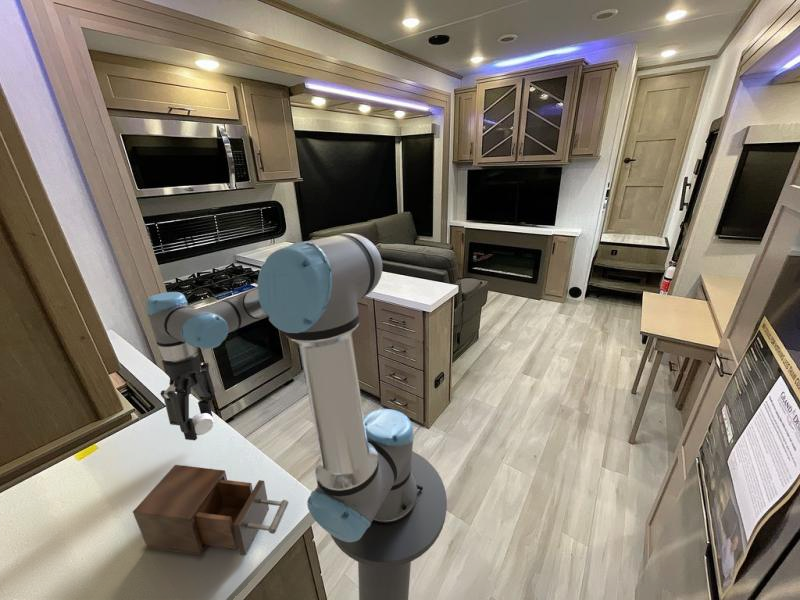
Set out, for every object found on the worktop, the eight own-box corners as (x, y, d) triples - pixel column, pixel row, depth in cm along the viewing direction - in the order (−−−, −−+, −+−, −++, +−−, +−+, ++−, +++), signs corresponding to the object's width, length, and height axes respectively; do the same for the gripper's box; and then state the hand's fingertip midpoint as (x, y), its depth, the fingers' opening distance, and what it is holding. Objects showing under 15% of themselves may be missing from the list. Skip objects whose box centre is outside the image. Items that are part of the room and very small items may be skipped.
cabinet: (233, 504, 72) (225, 470, 68) (201, 555, 62) (190, 519, 59) (185, 498, 73) (175, 464, 69) (147, 547, 63) (132, 511, 60)
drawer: (294, 512, 70) (290, 483, 67) (274, 559, 61) (268, 529, 58) (224, 503, 72) (217, 475, 68) (195, 548, 63) (186, 518, 60)
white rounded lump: (207, 418, 90) (203, 402, 88) (217, 428, 86) (213, 412, 84) (186, 429, 86) (181, 413, 84) (194, 440, 82) (190, 424, 80)
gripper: (193, 336, 86) (210, 405, 94) (131, 376, 68) (158, 456, 77) (219, 337, 85) (233, 407, 94) (163, 378, 68) (187, 459, 76)
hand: (200, 429), depth 85 cm, fingers closed on white rounded lump, 6 cm apart
